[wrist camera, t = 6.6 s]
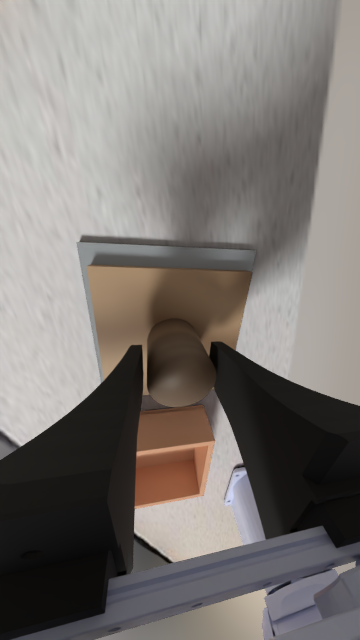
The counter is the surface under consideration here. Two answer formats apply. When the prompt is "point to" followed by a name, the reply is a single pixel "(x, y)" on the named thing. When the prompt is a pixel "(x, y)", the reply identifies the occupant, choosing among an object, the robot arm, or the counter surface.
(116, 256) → the rubber mat
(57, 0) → the counter surface
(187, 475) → the terracotta open box
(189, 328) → the walnut lid
